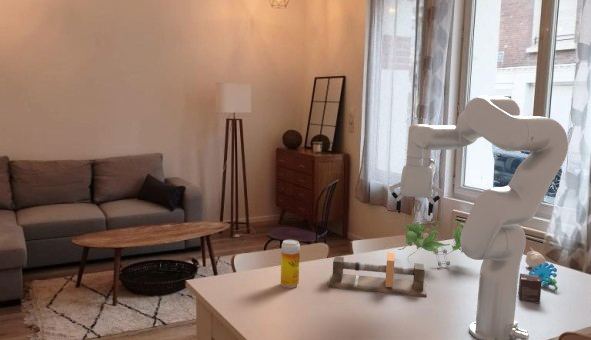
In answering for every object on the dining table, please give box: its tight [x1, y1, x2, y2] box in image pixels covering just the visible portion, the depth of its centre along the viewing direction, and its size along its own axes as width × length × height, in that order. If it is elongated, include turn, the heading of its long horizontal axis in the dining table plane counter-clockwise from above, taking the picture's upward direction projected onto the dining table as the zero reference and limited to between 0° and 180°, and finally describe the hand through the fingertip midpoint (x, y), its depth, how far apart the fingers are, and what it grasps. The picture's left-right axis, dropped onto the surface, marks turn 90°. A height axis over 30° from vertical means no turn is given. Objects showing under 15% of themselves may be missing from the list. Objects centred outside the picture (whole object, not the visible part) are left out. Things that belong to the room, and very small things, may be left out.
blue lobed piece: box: [528, 261, 558, 289], centre depth 176 cm, size 11×6×10 cm
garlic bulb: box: [525, 246, 547, 270], centre depth 193 cm, size 7×6×8 cm
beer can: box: [280, 239, 301, 289], centre depth 167 cm, size 6×6×15 cm
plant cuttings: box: [397, 219, 466, 269], centre depth 195 cm, size 35×17×22 cm
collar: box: [385, 252, 396, 287], centre depth 169 cm, size 2×9×9 cm, turn 169°
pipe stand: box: [327, 255, 428, 298], centre depth 170 cm, size 32×12×8 cm, turn 79°
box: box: [517, 273, 543, 304], centre depth 162 cm, size 6×6×7 cm
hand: (414, 213), depth 165 cm, fingers open, 9 cm apart
